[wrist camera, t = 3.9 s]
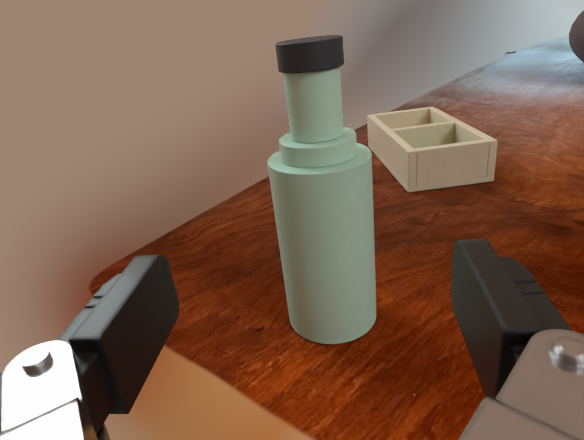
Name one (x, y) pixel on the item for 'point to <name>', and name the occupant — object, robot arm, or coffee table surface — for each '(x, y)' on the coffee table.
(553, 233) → the coffee table surface
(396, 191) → the coffee table surface
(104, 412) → the robot arm
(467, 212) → the coffee table surface
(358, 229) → the bottle
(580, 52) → the flattened ellipsoid
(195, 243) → the coffee table surface
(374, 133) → the cream rectangular tray
